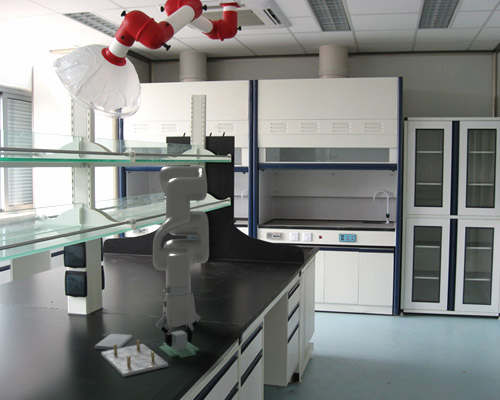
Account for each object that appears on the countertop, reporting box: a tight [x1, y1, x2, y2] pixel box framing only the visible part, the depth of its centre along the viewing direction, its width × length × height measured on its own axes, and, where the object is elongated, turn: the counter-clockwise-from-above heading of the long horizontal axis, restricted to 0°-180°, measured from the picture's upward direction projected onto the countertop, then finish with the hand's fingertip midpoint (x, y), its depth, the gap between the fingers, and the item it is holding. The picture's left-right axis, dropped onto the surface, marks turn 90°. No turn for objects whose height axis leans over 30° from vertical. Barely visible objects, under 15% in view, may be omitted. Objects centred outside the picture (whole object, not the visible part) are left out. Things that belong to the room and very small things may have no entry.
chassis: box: [100, 339, 169, 378], centre depth 162 cm, size 20×14×4 cm
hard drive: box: [93, 333, 133, 351], centre depth 178 cm, size 2×8×12 cm
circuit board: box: [158, 330, 200, 359], centre depth 172 cm, size 14×10×6 cm
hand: (178, 343), depth 172 cm, fingers open, 6 cm apart
